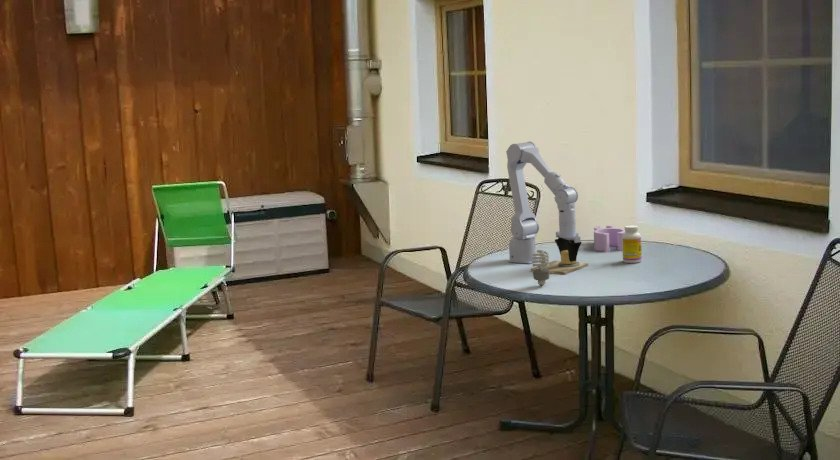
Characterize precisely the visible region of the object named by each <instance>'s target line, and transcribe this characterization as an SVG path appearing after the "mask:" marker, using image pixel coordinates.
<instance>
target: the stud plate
mask: <svg viewBox="0 0 840 460" xmlns="http://www.w3.org/2000/svg"><path fill="white" fill-rule="evenodd" d="M545 265H547V264H545ZM545 265H542V266H541V267H543V266H545ZM588 266H589V263H587V262H579V261H577V263H574V264H562V263H561V260H552V261H549V266H548V267H546V268H545V269H548V270H549V274H556V275H568V274H570V273H573V272H575V271H578V270H581V269H583V268H586V267H588ZM535 269H539V267H538V266H534V267H533V268H530V272H533V270H535Z"/></svg>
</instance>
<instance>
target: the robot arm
mask: <svg viewBox="0 0 840 460" xmlns="http://www.w3.org/2000/svg"><path fill="white" fill-rule="evenodd" d="M505 152H506V158H507V163H506V166H507V168H506V169H507V173H508V179H509V184H510V191H511V196H512V202H513V208H514V214H513V216H512V217H511V218H510V223H511V224H510V225H511V226H510V233H511V234H512V236H513V237H511V238H510V239H509V242H508V244H509V245H508V250H509V251H508V253H509V260H508V262H509V263H516V264H517V263H519V264H520V263H521V264H528V265H529V264H530V265H531V264H533V263H532V261H533V259H532V257H537V256H532V254H535V253H537V248H536V237H537V234H539V230H540V225H539V221H538V220H537V218H536V214H535V213H534V212H532V210H531V209H530V203H529V198H528V193H527V186H526V179H525V174H524V168H525V166H526V165H527V164H530V165H532V166H533V167H534V168H535V170H536V171H538V173H539V174H540V175H541V176H542V177H543V178H544V180H543V181H544V184H545V185H546V186H547V188H548V189H549V190H550V192H551V193H552V194H553V195H554V197H553V198H554V202H555V204H556V205H557V206H556V207H557V209H558V226H559V227H558V228H559V229H558V230H559V231H555V238H556V239H554V243H555V244H556V245H557V248H558V250H559V251H558V252H559V255H560V256H561V251H564V250H568V254H569V260H570V261H571V262H572V261H576V258H577V257H578V254H579V253H578V252H579V249H580V247H581V245H582V241H581V236H579V233H578V232H577V231H576V228H577V227H576V202H577V201H578V199H579V194H578V191H577V189H576V188H575V187H573V186H570V185H569V184H568V183H566V182H565V180H564V179H563V178H562V177H561V174H560V173H558V172H557V171H552V169H551V168H550V167H549V165H548V164H547V163H546V161H545V159H544V158H543V157H542V155H541V154H540V149H539V147H537V146H536V144H535V143H534V142H533V141H526V142H519V143H511V144H510V145H509V147H508V148H507V150H506V151H505ZM535 260H542V259H535Z"/></svg>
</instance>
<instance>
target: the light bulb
mask: <svg viewBox="0 0 840 460" xmlns="http://www.w3.org/2000/svg"><path fill="white" fill-rule="evenodd" d="M532 256H536V257H532V259H533V261H532V263H531V264H532V266H533V267H539V269H535V270H533V271H532V277H533V279H534V280H535V281H537V284H538V285H539V286H541V287H543V286H544V285H546V281H547V280H549V279H550V273H549V270H548V269H545V268H546V267H548V266H549V262H550V256H549V252H547V251H545V250H542V249H536V253H535V254H532ZM535 259H541V260H535ZM545 264H547V265H545ZM542 265H545V266H543V267H541V266H542Z"/></svg>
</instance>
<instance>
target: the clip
mask: <svg viewBox="0 0 840 460" xmlns="http://www.w3.org/2000/svg"><path fill="white" fill-rule="evenodd" d="M624 233H625V228H618V227H616V226H615V225H605V228H601V226H599V225H597V226H594V227H593V247H594V250H596V251H600V252H604V253H609V252H610V249H611V248H610V247H612V246H614V247H617V251H621V252H623V249H622V235H623V234H624Z"/></svg>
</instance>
